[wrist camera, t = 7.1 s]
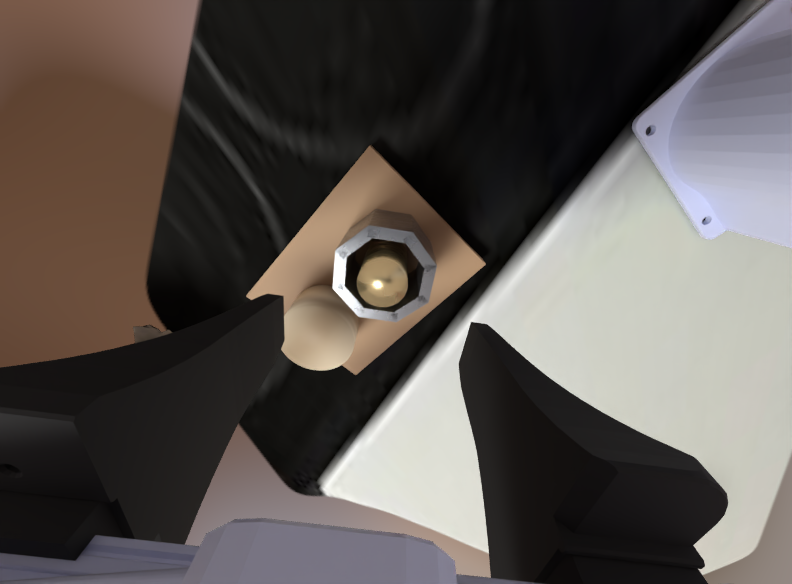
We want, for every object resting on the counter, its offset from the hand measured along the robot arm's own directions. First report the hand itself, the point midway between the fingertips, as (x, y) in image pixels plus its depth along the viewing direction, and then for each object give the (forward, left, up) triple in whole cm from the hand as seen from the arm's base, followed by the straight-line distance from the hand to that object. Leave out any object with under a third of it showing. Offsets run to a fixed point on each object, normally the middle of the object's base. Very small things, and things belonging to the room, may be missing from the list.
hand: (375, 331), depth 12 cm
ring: (0, 0, -9) cm, 9 cm away
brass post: (0, 0, -9) cm, 9 cm away
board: (0, +3, -10) cm, 10 cm away
